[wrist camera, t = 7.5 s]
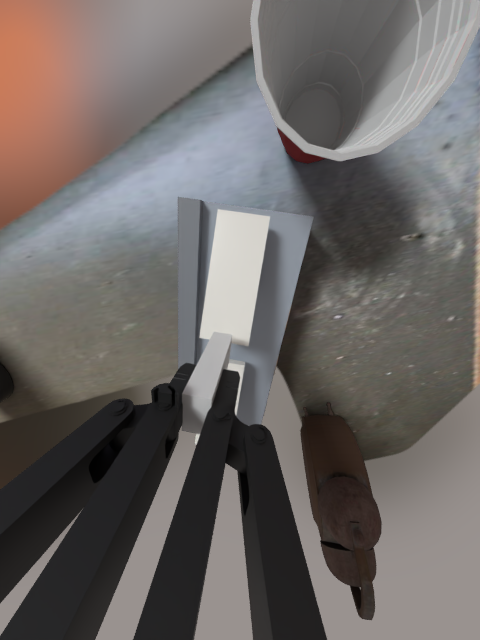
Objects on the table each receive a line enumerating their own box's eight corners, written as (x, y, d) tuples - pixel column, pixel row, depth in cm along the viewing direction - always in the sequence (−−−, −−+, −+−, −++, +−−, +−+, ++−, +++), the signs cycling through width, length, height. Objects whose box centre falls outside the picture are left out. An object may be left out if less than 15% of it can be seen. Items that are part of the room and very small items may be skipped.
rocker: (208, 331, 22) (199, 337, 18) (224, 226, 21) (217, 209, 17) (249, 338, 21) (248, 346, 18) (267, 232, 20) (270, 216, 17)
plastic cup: (356, 192, 22) (447, 157, 11) (255, 192, 23) (246, 160, 12) (389, 42, 17) (599, -271, 6) (261, 50, 18) (255, -205, 7)
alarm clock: (340, 447, 38) (407, 645, 20) (301, 447, 40) (330, 633, 21) (341, 387, 33) (436, 588, 14) (295, 390, 34) (328, 577, 16)
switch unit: (193, 384, 36) (178, 418, 30) (201, 204, 24) (177, 196, 18) (262, 397, 35) (261, 434, 29) (305, 219, 23) (319, 216, 17)
